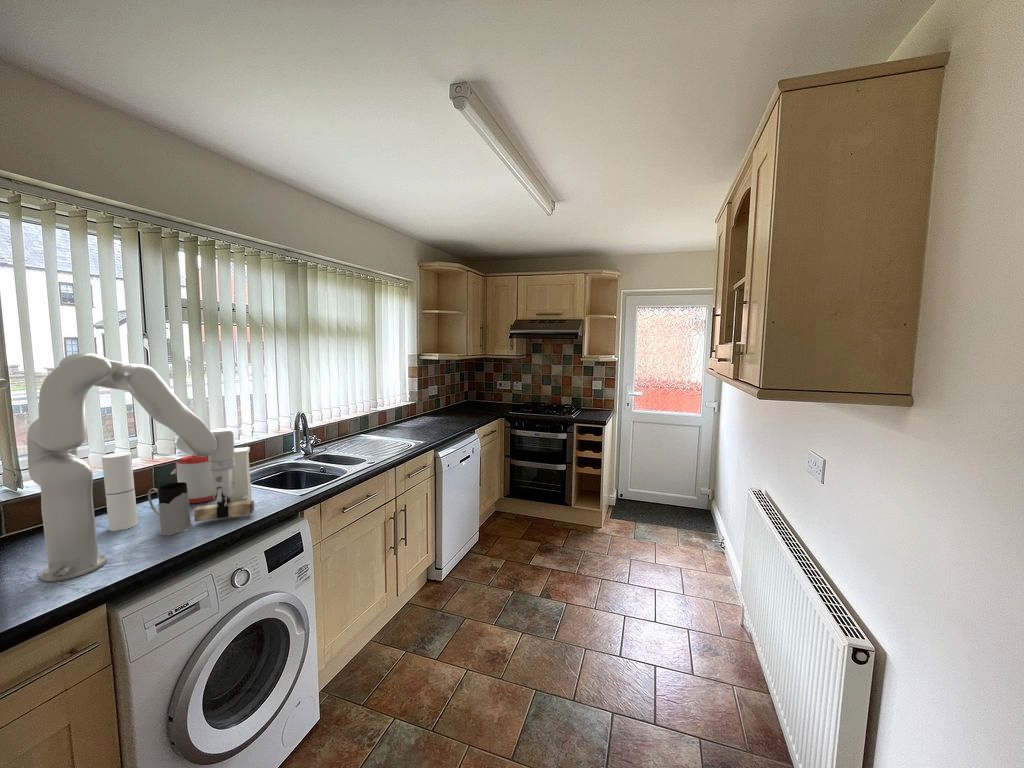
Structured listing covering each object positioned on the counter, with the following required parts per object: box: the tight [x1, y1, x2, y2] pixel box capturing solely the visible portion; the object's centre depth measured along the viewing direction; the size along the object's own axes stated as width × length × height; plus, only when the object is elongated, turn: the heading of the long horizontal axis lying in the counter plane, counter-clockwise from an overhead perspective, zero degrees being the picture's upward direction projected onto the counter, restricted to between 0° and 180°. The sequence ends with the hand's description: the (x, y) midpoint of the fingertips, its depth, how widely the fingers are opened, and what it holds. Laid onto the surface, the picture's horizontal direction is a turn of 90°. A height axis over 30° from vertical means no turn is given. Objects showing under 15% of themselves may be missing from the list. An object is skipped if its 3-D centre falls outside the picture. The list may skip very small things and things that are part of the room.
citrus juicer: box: [170, 455, 215, 504], centre depth 166 cm, size 16×17×20 cm
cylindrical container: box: [101, 451, 138, 532], centre depth 140 cm, size 7×7×25 cm
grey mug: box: [147, 482, 194, 536], centre depth 139 cm, size 9×14×15 cm, turn 80°
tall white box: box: [230, 446, 253, 502], centre depth 157 cm, size 10×9×22 cm
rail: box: [193, 500, 255, 523], centre depth 146 cm, size 17×4×4 cm, turn 114°
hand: (224, 514), depth 146 cm, fingers closed on rail, 4 cm apart
